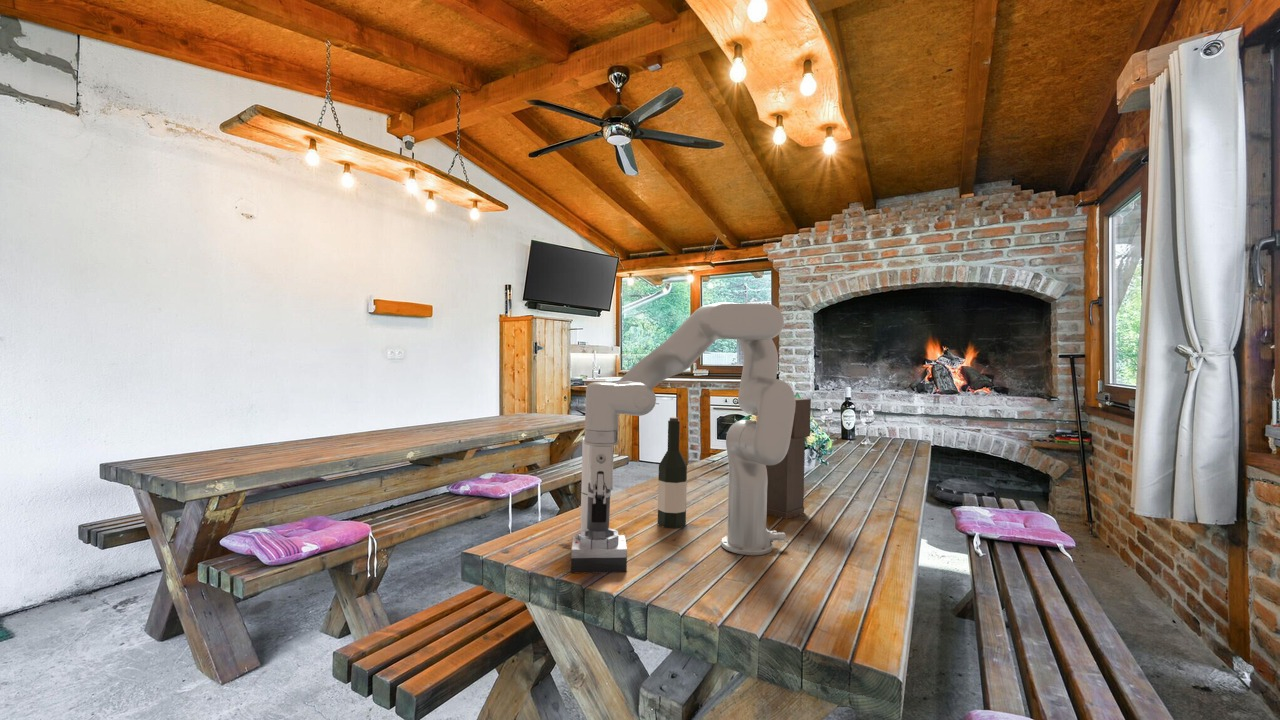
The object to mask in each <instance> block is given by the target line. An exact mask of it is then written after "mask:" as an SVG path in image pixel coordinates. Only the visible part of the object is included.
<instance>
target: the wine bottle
mask: <svg viewBox="0 0 1280 720" xmlns="http://www.w3.org/2000/svg"><path fill="white" fill-rule="evenodd" d="M667 422H668V423H667V451H666V452H665V453H664V456H663V457H662V459H661V461H660V462H659V465H658V483H657V485H658V487H657V489H658V492H657V525H658V524H659V525H658V526H660V525H661V526H660V527H662V526H663V528H665V527H666V528H667V529H678V528H684V526H685V527H686V524H687V522H686V521H687V491H688V489H687V487H688V485H687V484H688V483H687V482H688V464H687V461H686V460H685V458H684V456H683V454H682V452H681V451H680V428H681V427H680V426H681V424H680V420H679V417H675V416H673V417H669V419H668V421H667ZM666 528H665V529H666Z"/></svg>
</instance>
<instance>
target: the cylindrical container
mask: <svg viewBox="0 0 1280 720" xmlns="http://www.w3.org/2000/svg"><path fill="white" fill-rule="evenodd" d="M584 439H585V437H582V440H581V441H582V446H581V447H582V448H581V451H582V452H581V454H582V455H581V486H580V487H581V493H580V495H581V496H580V501H581V502H580V532H581V531H582V530H585V529H587V508H588V483H589V482H590V475H589V451H590V445H586V444H584Z"/></svg>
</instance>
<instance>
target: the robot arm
mask: <svg viewBox="0 0 1280 720" xmlns="http://www.w3.org/2000/svg"><path fill="white" fill-rule="evenodd" d="M784 325H785V319H784V315H783V313H782V312H781V310H780V309H779V308H778V307H776V306H775V305H773V304H771V303H760V302H759V303H756V302H755V303H751V302H750V303H749V302H748V303H747V302H746V303H745V302H716V303H711V304H707V305H702V306H700V307H699V308H697V309H696V310H695V311H694V312H692V313H691V314H690V316H689V317H687V318H686V319H685V320H684V322H682V323H681V325H679V327H678V328H677V329H676V330H675V331H674V332H673V333H672V334H671V335H670V336H669V337H668V338H667V339H666V340H664V341H663V342H662V343H661V344H660V345H659V346H657V347H656V348H655V349H653V350H652V351H651V352H650V353H649V354H647V355H646V356H644V357H643V358H642V359H641V360H639V361H638V362H636V363H635V364H634V365H633V366H632V367H631V368H630V369H629V370H628V371H627V372H626V373H625V374H624V375H623V376H622V377H621V378H620V379H619V380H618V381H617V383H614V382H605V381H604V382H603V381H601V382H600V381H597V382H595V381H594V382H590V383H588V384H587V386H586V389H585V413H584V414H585V415H584V416H585V417H584V418H585V419H584V438H585V439H584V444H586V445H590V451H589V475H590V486H591V490H593V489H594V490H593V492H594V493H593V504H592V519H591V521H592V522H606V509H607V504H606V487H607V489H609V490H610V491H611V492H612V491H613V490H614V488H613V483H614V478H613V477H614V446H617V445H618V444H619V422H620V421H619V418H620V417H619V415H627V416H633V417H634V416H636V417H640V416H645V415H647V414H649V413H650V412H652V410H653V409H654V408H655V406H656V402H657V397H656V393H655V392H654V390H653V388H655V387H656V386H657V385H659V384H661V382H663V381H664V380H666V379H669V378H671V377H673V376H676V375H679V374H681V373H683V372H684V371H686V370H688V369H689V368H690V367H691V366H693V364H695V362H696V361H697V360H698V359H699V358H700V357H701V356H702V355H703V354H704V353H705V352H706V351H707V350H708V349H709V347H711V346H712V345H713V343H714V342H715V341H717V340H736V341H737V342H738V343H739V345H740V348H741V350H742V353H743V364H742V372H741V378H740V384H739V389H738V394H737V395H738V396H737V398H738V399H737V403H738V406H739V408H740V409H741V411H743V412H744V413H746V414H748V415H751V416H756V417H757V418H756V420H752V419H741V420H738V421H736V422H734V423H733V424H731V426H730V427H729V428H728V430H727V433H726V439H725V444H726V445H725V447H726V451H727V452H726V453H727V461H728V491H727V492H728V495H727V497H728V498H727V501H728V502H727V535H725V536H723V537H722V538H721V541H720V545H721V547H722V548H723V549H724V550H726V551H729V552H731V553H734V554H738V555H744V556H762V555H766V554H770V552H772V551H773V542H774V541H778V542H780V541H781V542H782V541H786V539H787V537H786V536H787V535H786V533H785V532H777V530H769V529H768V528H767V515H768V514H767V484H768V477H767V469H766V465H769V466H771V465H776V464H778V463H780V462H781V461H782V460H783V459H784V458H785V456H786V454H787V452H788V449H789V445H790V439H791V433H792V427H793V420H794V414H795V406H796V401H795V398H796V395H795V393H794V390H793V389H792V387H791V386H790V385H789V383H788V382H786V381H784V380H781V379H778V378H777V377H778V376H777V375H778V368H779V367H778V366H779V353H778V350H777V347H776V344H775V342H774V340H773V339H774V338H775V337H778V335H780V333H781V332H782V330H783V328H784ZM595 483H596V487H597V490H595ZM593 485H594V486H593ZM603 487H604V490H603ZM596 493H597V494H596ZM603 493H604V494H603Z"/></svg>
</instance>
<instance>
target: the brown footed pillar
mask: <svg viewBox="0 0 1280 720" xmlns="http://www.w3.org/2000/svg"><path fill="white" fill-rule="evenodd" d="M811 400H812V399H811V398H799V397H795V401H796V406H795V414H794V420H793V427H792V433H791V439H790V445H789V449H788V452H787V454H786V456H785V458H784V459H783V460H782V461H781V462H780V463H778V464H776V465H771V466H769V465H766V469H767V477H768V484H767V515H769V514H770V515H769V516H772V515H774V516H773V517H776V516H778V517H777V518H780V517H782V518H781V519H784V518H786V519H785V520H788V518H789V519H791V518H793V516H794V517H796V516H795V515H797V516H799V515H801V514H800V513H802V514H804V513H805V506H804V502H805V500H804V499H805V498H804V495H805V494H804V493H805V459H806V458H805V456H806V454H805V453H806V452H805V451H806V437H807V438H808V437H811V411H812V410H811V409H812V408H811V407H812V406H811V405H812V404H811V403H812V401H811ZM803 512H804V513H803ZM798 514H799V515H798ZM790 517H791V518H790Z"/></svg>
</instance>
